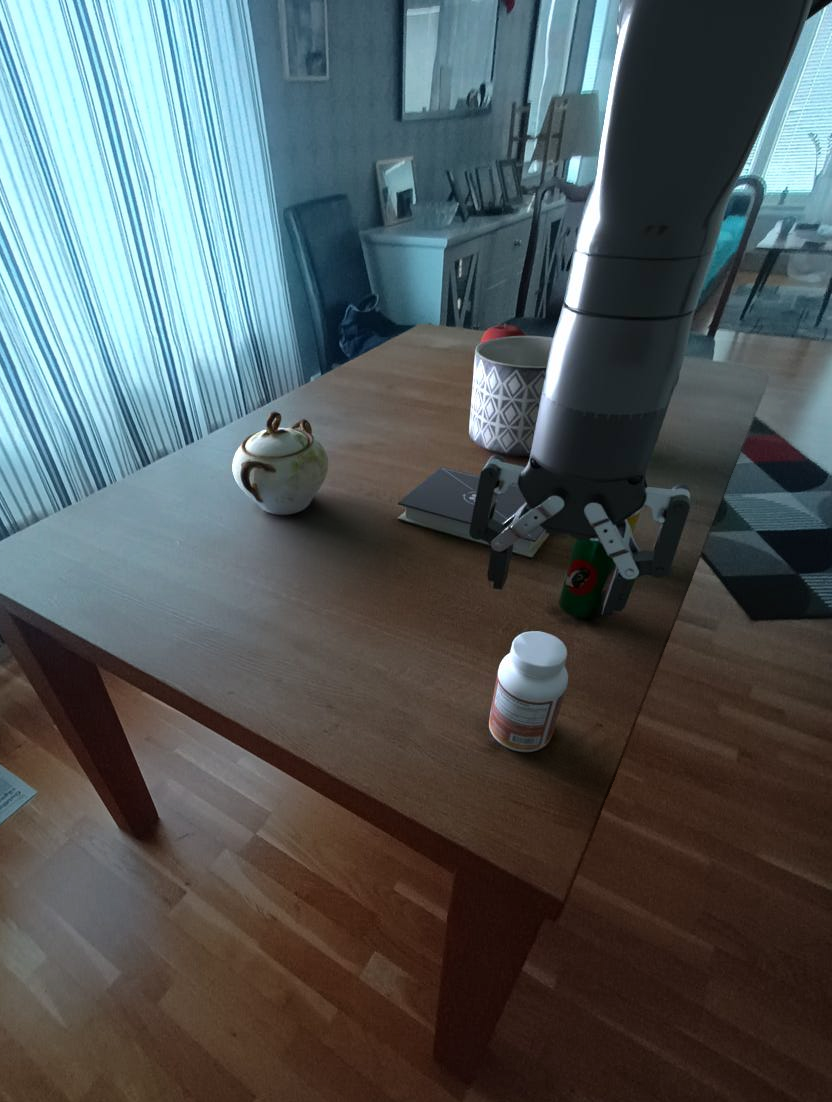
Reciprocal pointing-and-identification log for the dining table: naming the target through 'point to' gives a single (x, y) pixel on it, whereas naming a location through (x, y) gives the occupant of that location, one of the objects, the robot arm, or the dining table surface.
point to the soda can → (586, 579)
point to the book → (463, 508)
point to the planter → (508, 392)
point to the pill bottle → (529, 692)
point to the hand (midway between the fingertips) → (552, 596)
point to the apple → (501, 332)
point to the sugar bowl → (281, 466)
